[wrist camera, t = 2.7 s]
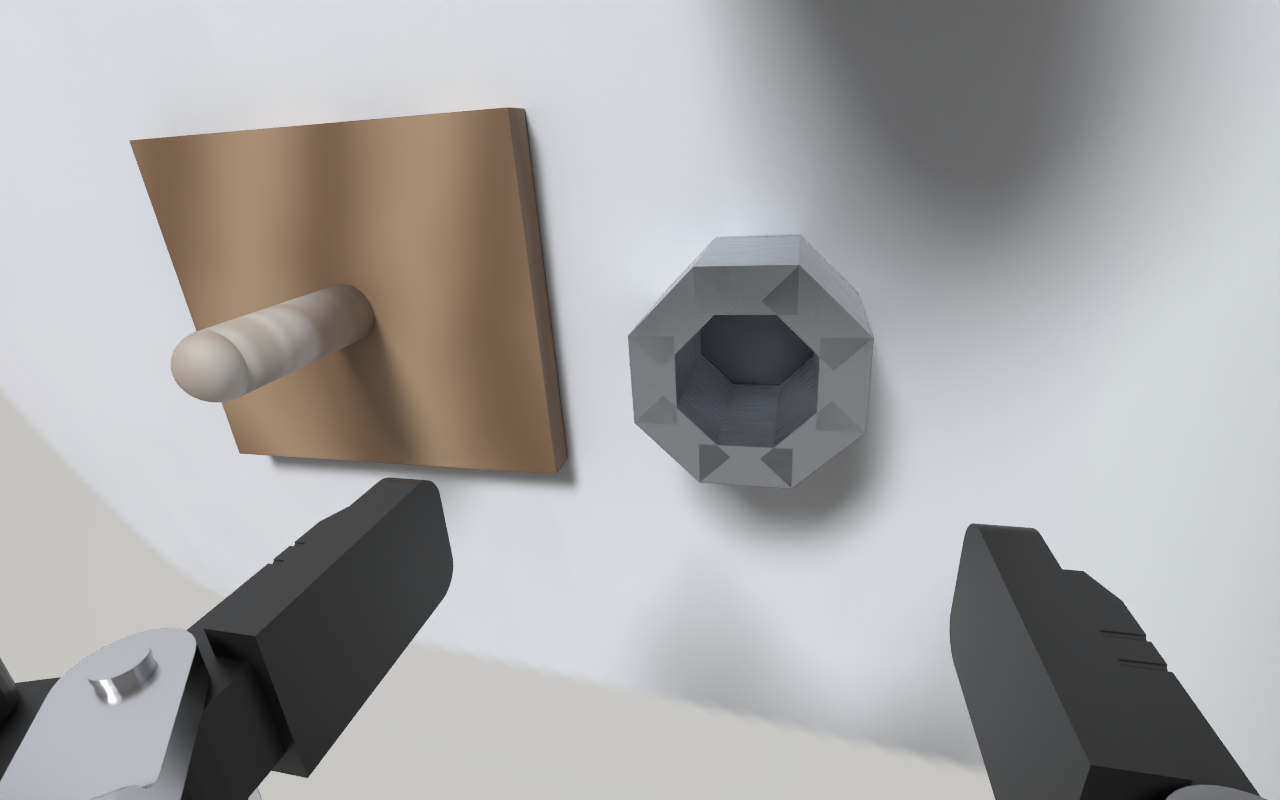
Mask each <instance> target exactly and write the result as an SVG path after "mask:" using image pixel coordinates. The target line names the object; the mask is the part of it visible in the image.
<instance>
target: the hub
mask: <svg viewBox="0 0 1280 800" xmlns="http://www.w3.org/2000/svg"><path fill="white" fill-rule="evenodd" d="M714 315H777V316H778V317H779V318H780V319H781V320H782V321H783V322H784V323H785V324H786V325H787V326H788V327H789V328H790V329H791V330H792V331H793V332H794V333H795V334H796V335H797V336H798V337H800V338H801V339H802V340H803V341H804V342H805V343H806V344H807V345H808V346H809V347H810V348H811V349H812V350H813V351H814V355H813V356H812V357H811V358H810V359H809V360H808V361H806V362H805V363H804V364H803V365H802V366H801V367H799V368H798V369H797V370H796V371H795V372H794V373H792V374H791V375H790V376H789V377H788V378H787V379H786V380H784V381H783V382H782V383H781V384H780V385H755V384H733V383H732V382H731V381H730V380H729V379H728V378H726V377H725V376H724V375H723V374H722V373H721V372H720V371H719V370H718V369H717V368H716V367H715V366H714V365H713V364H712V363H711V362H710V361H709V360H707V359H706V358H705V357H704V356H703V355H702V354H701V330H700V329H701V328H702V327H703V326H704V325H705V324H706V323H707V322H708V321H709V320H710V319H711V318H712V317H713V316H714ZM873 339H874V338H873V335H872V332H871V329H870V326H869V323H868V321H867V318H866V315H865V312H864V309H863V306H862V303H861V300H860V298H859V295H858V293H857V292H856V291H855V290H854V289H853V288H852V287H851V286H850V285H849V284H848V283H847V282H846V281H845V280H844V279H843V278H842V277H841V276H840V275H839V274H838V273H837V272H836V271H835V270H834V269H833V268H832V267H831V266H830V265H829V264H828V263H827V262H826V261H825V260H824V259H823V258H822V257H821V256H820V255H819V254H818V253H817V252H816V251H815V250H814V249H813V248H812V247H811V246H810V245H809V244H808V243H807V242H806V241H805V240H804V239H803V238H802V237H801V236H800V235H789V236H756V237H723V238H715V239H714V240H713V241H712V243H711V244H710V245H709V246H708V247H707V248H706V249H705V250H704V251H703V252H702V253H701V254H700V255H699V256H698V258H697V259H696V260H695V261H694V262H693V263H692V264H691V265H690V266H689V267H688V268H687V269H686V270H685V271H684V273H683V274H682V275H681V276H680V277H679V278H678V279H677V280H676V281H675V282H674V283H673V284H672V285H671V286H670V287H669V289H668V290H667V291H666V292H665V293H664V294H663V295H662V296H661V297H660V299H659V300H658V301H657V302H656V303H655V305H654V306H653V307H652V308H651V309H650V310H649V312H648V313H647V314H646V315H645V316H644V318H643V319H642V320H641V321H640V322H639V324H638V325H637V326H636V327H635V328H634V330H633V331H632V332H631V333H630V334H629V335H628V342H629V355H630V369H631V382H632V396H633V409H634V423H635V424H636V425H637V426H638V427H640V428H641V429H642V430H643V431H644V432H645V433H646V434H647V435H648V436H649V437H651V438H652V439H653V440H654V441H655V442H656V443H657V444H658V445H659V446H660V447H661V448H663V449H664V450H665V451H666V452H667V453H668V454H669V455H670V456H671V457H672V458H673V459H675V460H676V461H677V462H678V463H679V464H680V465H681V466H682V467H683V468H684V469H685V470H687V471H688V472H689V473H690V474H691V475H692V476H693V477H694V478H695V479H696V480H698V481H699V482H700V483H714V484H729V485H745V486H760V487H775V488H793V487H794V486H796V485H797V484H798V483H800V482H801V481H802V480H803V479H805V478H806V477H807V476H809V475H810V474H811V473H813V472H814V471H815V470H817V469H818V468H819V467H821V466H822V465H823V464H825V463H826V462H827V461H829V460H830V459H831V458H833V457H834V456H835V455H837V454H838V453H839V452H841V451H842V450H843V449H845V448H846V447H847V446H849V445H850V444H851V443H853V442H854V441H855V440H857V439H858V438H859V437H861V436H862V435H863V434H864V433H866V421H867V409H868V398H869V386H870V374H871V362H872V351H873Z"/></svg>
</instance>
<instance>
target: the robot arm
mask: <svg viewBox="0 0 1280 800" xmlns="http://www.w3.org/2000/svg"><path fill="white" fill-rule="evenodd" d="M452 573H453V558H452V553H451V548H450V543H449V538H448V533H447V528H446V523H445V518H444V513H443V508H442V503H441V498H440V494H439V491H438V488H437V487H436V485H435V484H434V483H433V482H431V481H427V480H414V479H401V478H384V479H382V480H381V481H379V482H378V483H377V484H376V485H374V486H373V487H372V488H371V489H370V490H368V491H367V492H366V493H365V494H364V495H362V496H361V497H360V498H359V499H358V500H356V501H355V502H354V503H353V504H352V505H350V506H349V507H347V508H345V509H343V510H341V511H339V512H337V513H335V514H334V515H332V516H330V517H328V518H326V519H324V520H322V521H320V522H319V523H318V524H316V525H315V526H314V527H313V528H311V529H310V530H309V531H308V532H307V533H305V534H304V535H303V536H302V537H300V538H299V539H298V540H297V541H295V545H294V546H289V547H288V548H287V549H286V550H284V551H283V552H282V553H281V554H280V555H278V556H277V557H276V558H275V559H274V562H273V564H267V565H266V566H265V567H264V568H262V569H261V570H260V571H259V572H257V573H256V574H255V575H254V576H253V577H251V578H250V579H249V580H248V581H246V582H245V583H244V584H243V585H242V586H240V587H239V588H238V589H237V590H235V591H234V592H233V593H232V594H231V595H229V596H228V597H227V598H226V599H224V600H223V601H222V602H221V603H220V604H218V605H217V606H216V607H215V608H213V609H212V610H211V611H210V612H208V613H207V614H206V615H205V616H204V617H202V618H201V619H200V620H199V621H197V622H196V623H195V624H194V625H193V626H191V627H190V628H189V629H188V630H187V631H186V630H182V629H177V628H161V629H154V630H149V631H145V632H141V633H138V634H134V635H131V636H128V637H126V638H124V639H121V640H118V641H116V642H114V643H112V644H110V645H108V646H105V647H103V648H102V649H100V650H98V651H96V652H95V653H93V654H91V655H90V656H88V657H86V658H85V659H83V660H82V661H80V662H79V663H78V664H77V665H75V666H74V667H73V668H71V669H70V670H69V671H68V672H67V673H66V674H65V675H63V676H62V677H60V678H52V679H44V680H36V681H29V682H20V683H14V681H13V679H12V677H11V676H10V674H9V672H8V671H7V669H6V667H5V666H4V664H3V662H2V660H1V659H0V800H262V799H261V795H260V792H259V790H258V788H257V787H258V786H259V784H260V783H261V782H262V781H263V779H264V778H265V777H266V776H267V775H268V774H269V772H270V771H276V772H281V773H286V774H291V775H296V776H301V777H306V778H308V777H309V775H310V774H311V773H312V772H313V770H314V769H315V768H316V766H317V765H318V764H319V762H320V761H321V760H322V758H323V757H324V756H325V754H326V753H327V752H328V750H329V749H330V748H331V746H332V745H333V744H334V742H335V741H336V740H337V738H338V737H339V736H340V735H341V733H342V732H343V731H344V729H345V728H346V727H347V725H348V724H349V722H350V721H351V720H352V719H353V717H354V716H355V715H356V713H357V712H358V711H359V709H360V708H361V707H362V705H363V704H364V703H365V701H366V700H367V699H368V698H369V696H370V695H371V694H372V692H373V691H374V690H375V688H376V687H377V686H378V684H379V683H380V681H381V680H382V679H383V678H384V676H385V675H386V674H387V672H388V671H389V670H390V668H391V667H392V666H393V664H394V663H395V662H396V660H397V659H398V658H399V656H400V655H401V654H402V652H403V651H404V650H405V649H406V647H407V646H408V645H409V643H410V642H411V641H412V639H413V638H414V637H415V635H416V634H417V633H418V631H419V630H420V629H421V627H422V626H423V625H424V623H425V622H426V621H427V619H428V618H429V617H430V615H431V614H432V613H433V611H434V610H435V609H436V607H437V606H438V605H439V604H440V602H441V601H442V600H443V598H444V597H445V595H446V593H447V591H448V588H449V586H450V583H451V579H452ZM950 644H951V652H952V657H953V662H954V665H955V668H956V672H957V675H958V678H959V682H960V685H961V688H962V691H963V695H964V698H965V701H966V704H967V708H968V711H969V714H970V718H971V721H972V724H973V727H974V731H975V734H976V737H977V741H978V744H979V747H980V750H981V754H982V757H983V760H984V763H985V767H986V770H987V773H988V777H989V780H990V783H991V786H992V790H993V793H994V796H995V799H996V800H1267V799H1264V798H1262V797H1260V795H1259V794H1258V792H1257V791H1256V789H1255V788H1254V787H1253V785H1252V784H1251V782H1250V781H1249V780H1248V778H1247V777H1246V775H1245V774H1244V772H1243V771H1242V770H1241V768H1240V767H1239V765H1238V764H1237V763H1236V761H1235V760H1234V758H1233V757H1232V756H1231V754H1230V753H1229V751H1228V750H1227V748H1226V747H1225V746H1224V744H1223V743H1222V741H1221V740H1220V739H1219V737H1218V736H1217V734H1216V733H1215V732H1214V730H1213V729H1212V727H1211V726H1210V724H1209V723H1208V722H1207V720H1206V719H1205V717H1204V716H1203V715H1202V713H1201V712H1200V710H1199V709H1198V708H1197V706H1196V705H1195V703H1194V702H1193V700H1192V699H1191V698H1190V696H1189V695H1188V693H1187V692H1186V691H1185V689H1184V688H1183V686H1182V685H1181V684H1180V682H1179V681H1178V679H1177V678H1176V676H1175V675H1174V674H1173V672H1168V671H1167V664H1166V662H1165V661H1164V659H1163V658H1162V657H1161V655H1160V654H1159V652H1158V651H1157V650H1156V648H1155V647H1154V645H1153V644H1152V643H1151V642H1147V641H1146V634H1145V633H1144V631H1143V630H1142V628H1141V627H1140V626H1139V624H1138V623H1137V621H1136V620H1135V619H1134V617H1133V616H1132V614H1131V613H1130V611H1129V610H1128V609H1127V607H1126V606H1125V604H1124V603H1123V602H1122V601H1121V600H1120V599H1119V598H1118V597H1116V596H1115V595H1114V594H1112V593H1111V592H1110V591H1108V590H1107V589H1106V588H1105V587H1103V586H1102V585H1101V584H1099V583H1098V582H1097V581H1095V580H1094V579H1093V578H1092V577H1090V576H1089V575H1088V574H1086V573H1085V572H1084V571H1074V570H1063V569H1061V567H1060V565H1059V564H1058V562H1057V560H1056V559H1055V557H1054V556H1053V554H1052V552H1051V551H1050V549H1049V548H1048V546H1047V544H1046V543H1045V541H1044V540H1043V538H1042V536H1041V535H1040V533H1039V532H1038V531H1037V530H1036V529H1033V528H1024V527H1011V526H998V525H985V524H971V525H969V527H968V528H967V530H966V533H965V537H964V542H963V547H962V553H961V558H960V564H959V570H958V575H957V581H956V587H955V592H954V598H953V603H952V609H951V615H950Z"/></svg>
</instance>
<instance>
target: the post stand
mask: <svg viewBox="0 0 1280 800" xmlns="http://www.w3.org/2000/svg"><path fill="white" fill-rule="evenodd" d="M130 144H131V147H132V149H133V152H134V155H135V158H136V161H137V164H138V166H139V169H140V172H141V175H142V178H143V181H144V183H145V186H146V189H147V192H148V195H149V198H150V200H151V203H152V206H153V209H154V212H155V215H156V217H157V220H158V223H159V226H160V229H161V232H162V234H163V237H164V240H165V243H166V246H167V249H168V251H169V254H170V257H171V260H172V263H173V266H174V268H175V271H176V274H177V277H178V280H179V283H180V285H181V288H182V291H183V294H184V297H185V300H186V302H187V305H188V308H189V311H190V314H191V317H192V319H193V322H194V325H195V328H196V331H197V332H194V333H192V334H190V335H188V336H187V337H185V338H184V339H183V340H182V341H181V342H180V343H179V344H178V345H177V346H176V348H175V350H174V352H173V355H172V359H171V370H172V374H173V377H174V379H175V381H176V382H177V384H178V385H179V386H180V387H181V388H182V389H183V390H184V391H185V392H186V393H188V394H189V395H191V396H193V397H195V398H197V399H200V400H203V401H208V402H222V404H223V407H224V410H225V413H226V416H227V419H228V421H229V424H230V427H231V430H232V433H233V436H234V438H235V441H236V444H237V447H238V450H239V453H241V454H256V455H271V456H287V457H302V458H317V459H333V460H348V461H363V462H379V463H394V464H410V465H425V466H440V467H456V468H471V469H486V470H502V471H517V472H532V473H548V474H557V472H558V471H559V469H560V468H561V467H562V465H563V464H564V462H565V461H566V460H567V451H566V443H565V435H564V427H563V419H562V410H561V402H560V394H559V386H558V378H557V370H556V362H555V354H554V346H553V338H552V329H551V321H550V313H549V305H548V297H547V289H546V281H545V273H544V265H543V257H542V249H541V240H540V232H539V224H538V216H537V208H536V200H535V192H534V184H533V176H532V168H531V159H530V151H529V143H528V135H527V127H526V119H525V111H524V109H520V108H497V109H485V110H474V111H463V112H451V113H440V114H428V115H417V116H405V117H394V118H383V119H371V120H360V121H348V122H337V123H325V124H314V125H303V126H291V127H280V128H268V129H257V130H245V131H234V132H223V133H211V134H200V135H188V136H177V137H165V138H154V139H143V140H131V141H130Z"/></svg>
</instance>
